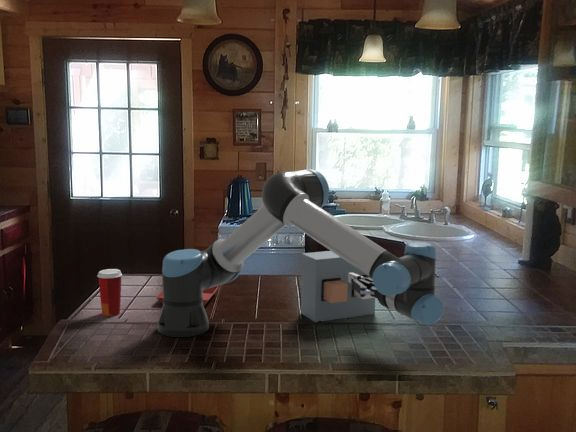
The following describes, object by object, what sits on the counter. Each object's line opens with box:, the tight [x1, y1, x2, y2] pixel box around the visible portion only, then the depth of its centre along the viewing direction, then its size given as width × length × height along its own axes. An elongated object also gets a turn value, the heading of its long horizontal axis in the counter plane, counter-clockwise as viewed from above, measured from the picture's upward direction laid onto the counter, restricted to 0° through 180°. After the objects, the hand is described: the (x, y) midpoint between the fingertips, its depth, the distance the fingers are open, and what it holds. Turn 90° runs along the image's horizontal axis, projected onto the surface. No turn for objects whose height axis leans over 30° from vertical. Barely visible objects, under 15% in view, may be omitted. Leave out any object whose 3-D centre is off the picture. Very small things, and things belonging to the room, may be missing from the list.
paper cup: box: [96, 268, 123, 317], centre depth 202 cm, size 8×8×14 cm
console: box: [300, 250, 376, 323], centre depth 204 cm, size 10×22×20 cm, turn 115°
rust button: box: [324, 280, 347, 303], centre depth 195 cm, size 5×6×6 cm
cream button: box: [354, 277, 376, 299], centre depth 199 cm, size 5×6×6 cm
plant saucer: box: [155, 286, 219, 307], centre depth 220 cm, size 18×18×3 cm
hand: (350, 277), depth 187 cm, fingers closed
